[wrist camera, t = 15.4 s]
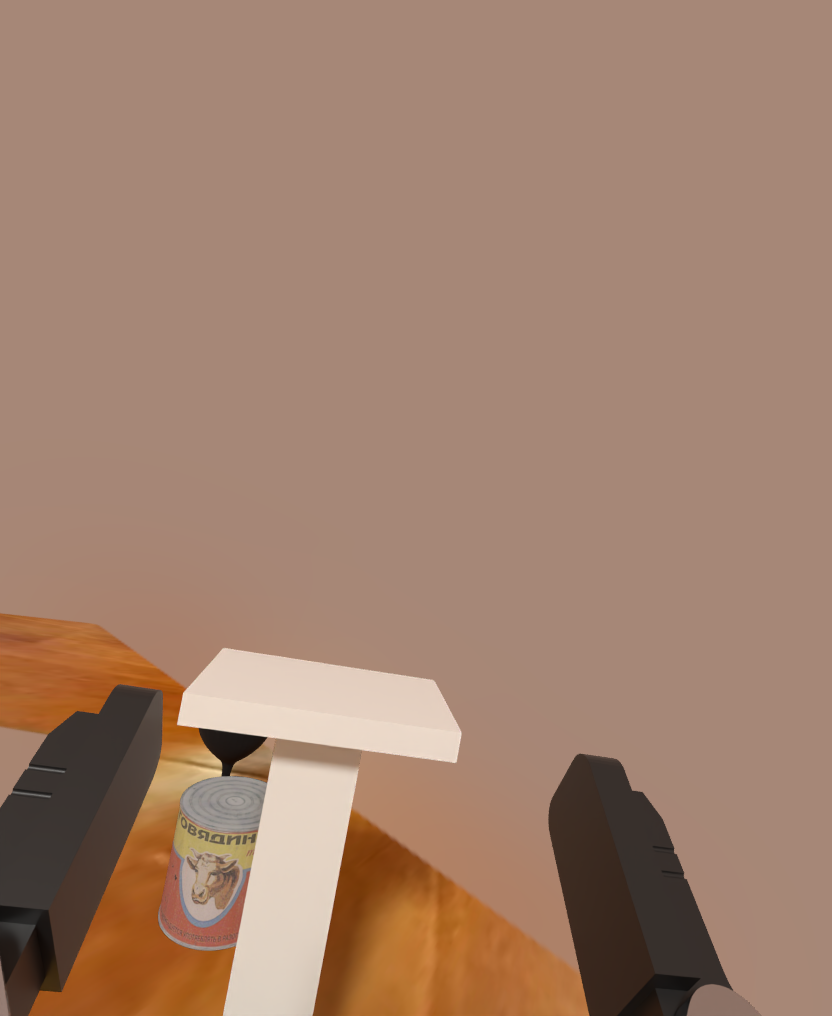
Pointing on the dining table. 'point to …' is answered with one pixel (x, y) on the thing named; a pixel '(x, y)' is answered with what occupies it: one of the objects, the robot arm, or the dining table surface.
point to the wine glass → (230, 746)
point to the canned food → (211, 862)
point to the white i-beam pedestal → (306, 799)
